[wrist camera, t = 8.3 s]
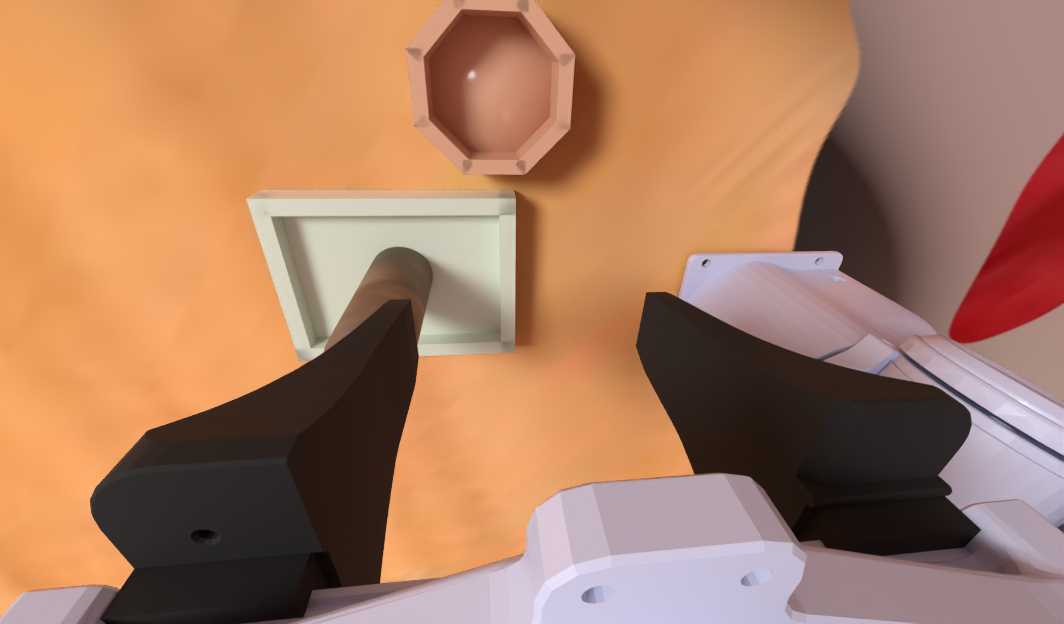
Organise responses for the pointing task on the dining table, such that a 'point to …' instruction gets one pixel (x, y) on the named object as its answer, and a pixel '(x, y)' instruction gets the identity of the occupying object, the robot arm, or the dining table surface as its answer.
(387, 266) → the peg
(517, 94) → the holder
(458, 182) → the dining table surface
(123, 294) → the dining table surface
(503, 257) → the tray
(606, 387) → the dining table surface
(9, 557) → the dining table surface
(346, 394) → the robot arm
